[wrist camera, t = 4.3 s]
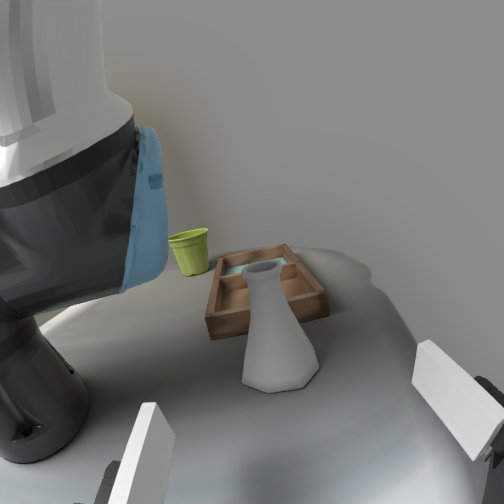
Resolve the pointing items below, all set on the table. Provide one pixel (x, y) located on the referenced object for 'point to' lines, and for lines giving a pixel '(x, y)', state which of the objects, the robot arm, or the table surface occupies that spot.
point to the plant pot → (191, 251)
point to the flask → (274, 335)
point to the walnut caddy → (238, 298)
